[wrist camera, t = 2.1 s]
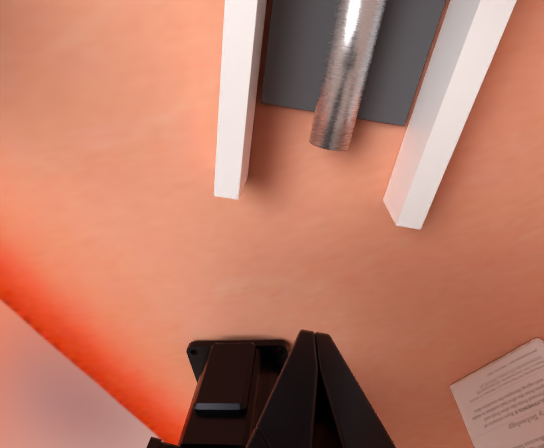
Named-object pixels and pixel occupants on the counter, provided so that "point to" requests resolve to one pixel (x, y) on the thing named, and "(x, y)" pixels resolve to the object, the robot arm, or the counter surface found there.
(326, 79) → the rod
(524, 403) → the skincare box
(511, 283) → the counter surface
